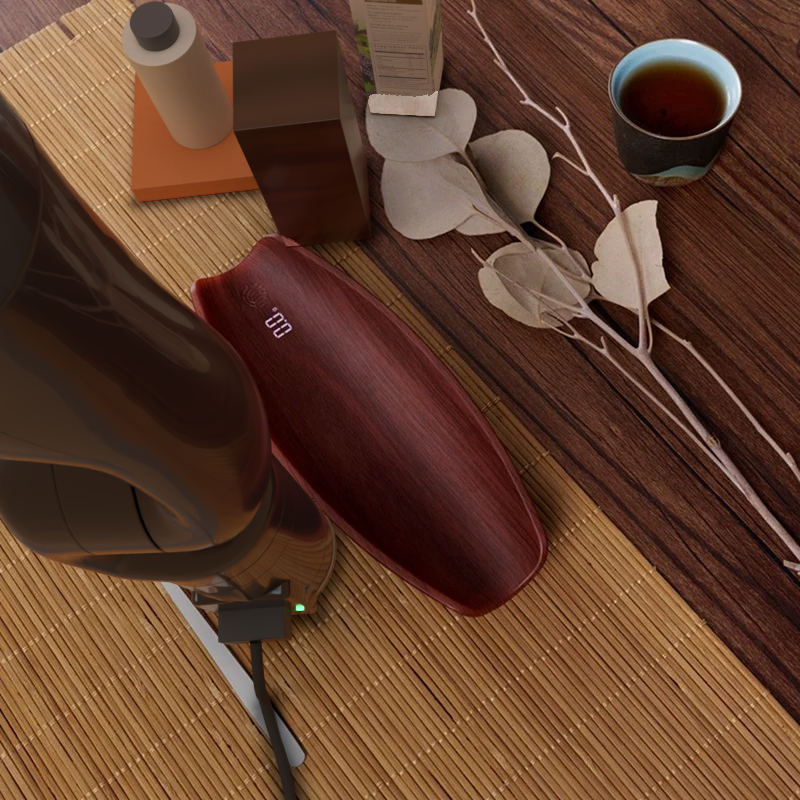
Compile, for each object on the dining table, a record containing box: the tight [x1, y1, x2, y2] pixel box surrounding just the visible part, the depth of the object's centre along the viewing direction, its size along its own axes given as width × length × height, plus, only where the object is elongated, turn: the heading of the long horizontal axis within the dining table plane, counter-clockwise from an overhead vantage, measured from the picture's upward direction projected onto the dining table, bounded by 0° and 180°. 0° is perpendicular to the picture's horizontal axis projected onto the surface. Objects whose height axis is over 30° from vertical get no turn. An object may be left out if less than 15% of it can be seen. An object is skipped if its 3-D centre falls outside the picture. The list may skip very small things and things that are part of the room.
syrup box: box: [348, 0, 445, 103], centre depth 71 cm, size 6×6×14 cm
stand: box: [130, 60, 260, 203], centre depth 78 cm, size 12×12×2 cm
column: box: [232, 29, 372, 247], centre depth 68 cm, size 7×7×16 cm
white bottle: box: [120, 0, 233, 149], centre depth 71 cm, size 6×6×12 cm
